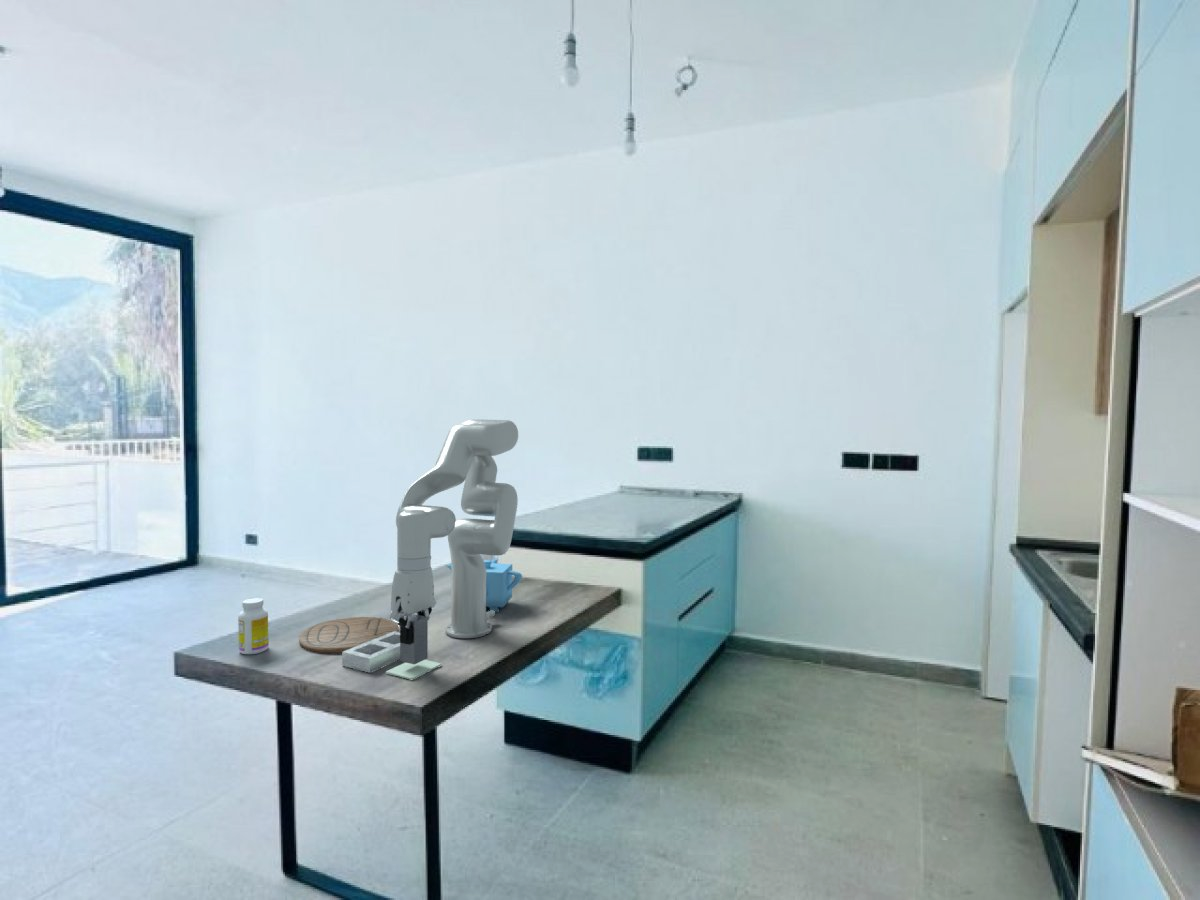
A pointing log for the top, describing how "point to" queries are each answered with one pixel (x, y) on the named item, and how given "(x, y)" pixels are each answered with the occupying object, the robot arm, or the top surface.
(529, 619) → the top surface
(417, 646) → the zinc peg
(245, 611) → the supplement bottle
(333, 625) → the trivet
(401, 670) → the sage pad
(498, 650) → the top surface
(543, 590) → the top surface
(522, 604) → the top surface
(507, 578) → the teakettle
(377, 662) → the grey cinder block
